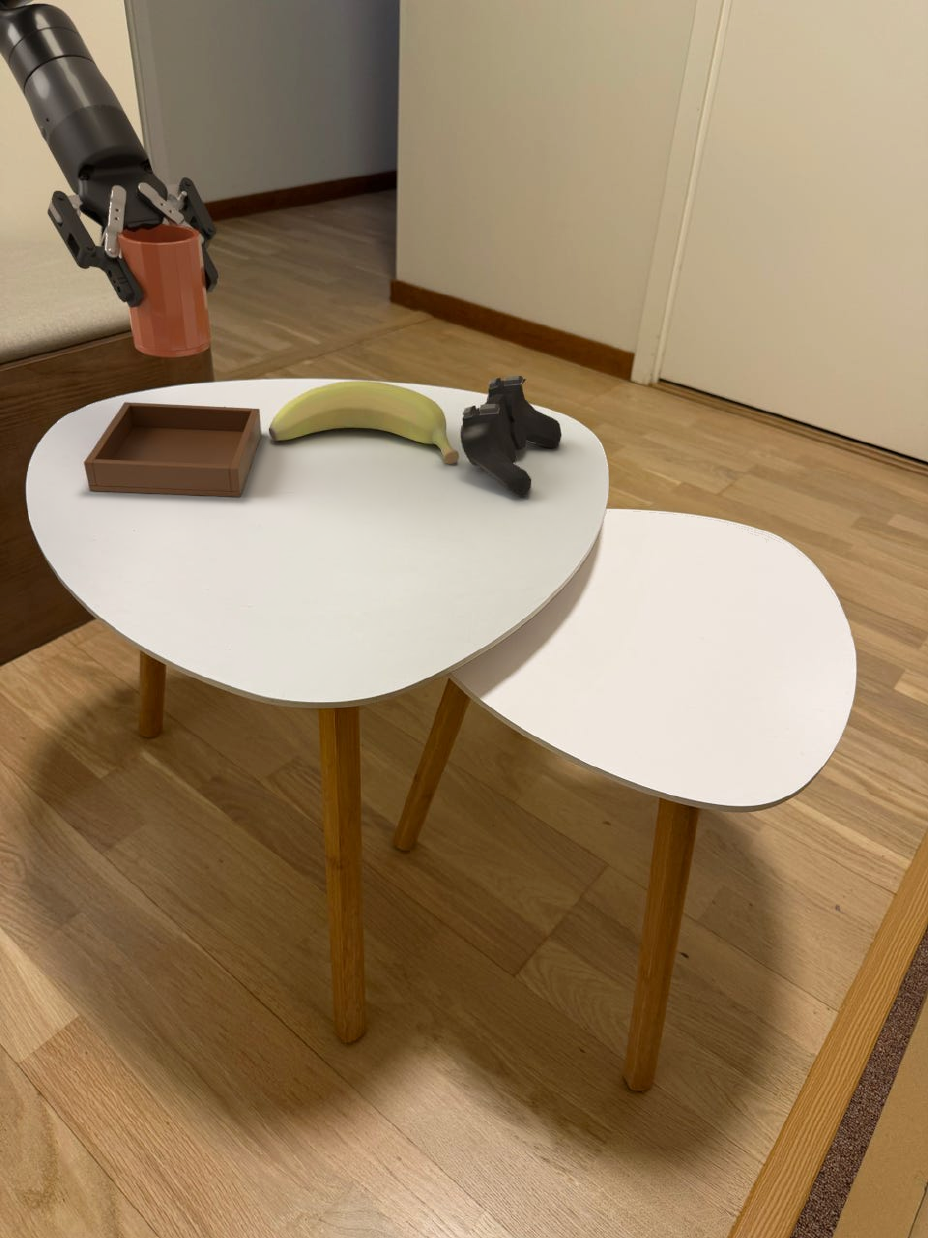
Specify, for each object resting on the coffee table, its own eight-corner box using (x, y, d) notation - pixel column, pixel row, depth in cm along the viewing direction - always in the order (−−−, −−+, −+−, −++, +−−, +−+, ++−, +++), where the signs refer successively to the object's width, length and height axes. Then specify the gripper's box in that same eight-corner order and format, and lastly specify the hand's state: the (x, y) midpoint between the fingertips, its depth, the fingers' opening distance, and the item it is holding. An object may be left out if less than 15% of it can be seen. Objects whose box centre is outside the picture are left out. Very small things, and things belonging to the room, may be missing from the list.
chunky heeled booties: (515, 452, 107) (484, 374, 103) (568, 438, 104) (538, 356, 99) (472, 513, 94) (435, 427, 90) (530, 499, 91) (494, 408, 87)
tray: (89, 490, 87) (83, 462, 86) (128, 428, 99) (124, 401, 97) (240, 497, 88) (237, 469, 87) (261, 434, 100) (259, 408, 98)
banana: (334, 347, 103) (484, 410, 98) (337, 386, 108) (481, 448, 102) (260, 412, 96) (417, 483, 90) (267, 450, 100) (417, 521, 95)
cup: (125, 354, 82) (107, 240, 76) (144, 329, 88) (129, 221, 82) (202, 359, 83) (190, 246, 77) (217, 333, 88) (206, 226, 82)
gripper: (16, 104, 73) (114, 286, 74) (170, 97, 82) (256, 260, 83) (1, 163, 79) (92, 331, 80) (146, 151, 88) (227, 302, 89)
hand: (175, 294), depth 82 cm, fingers closed on cup, 7 cm apart
